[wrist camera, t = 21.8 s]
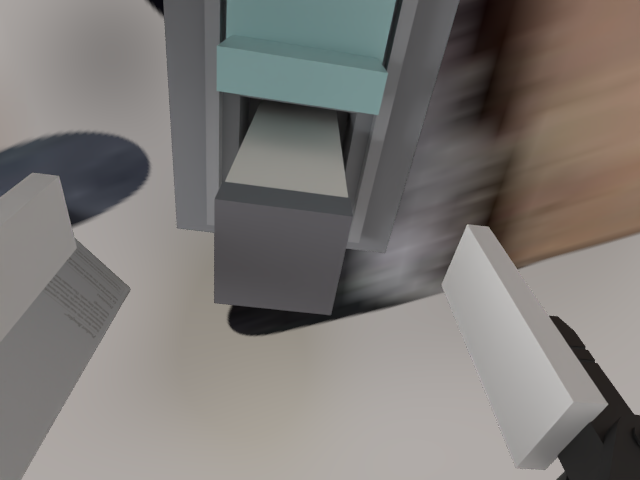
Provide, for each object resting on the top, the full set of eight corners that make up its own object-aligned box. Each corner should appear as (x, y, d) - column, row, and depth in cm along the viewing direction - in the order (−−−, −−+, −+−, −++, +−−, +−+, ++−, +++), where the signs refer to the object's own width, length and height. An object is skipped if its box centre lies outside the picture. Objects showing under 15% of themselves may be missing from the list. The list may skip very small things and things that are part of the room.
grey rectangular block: (257, 164, 24) (214, 303, 14) (262, 94, 22) (214, 199, 12) (325, 173, 24) (330, 315, 14) (336, 106, 22) (353, 216, 12)
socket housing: (195, 195, 26) (172, 235, 22) (181, -284, 15) (130, -380, 11) (376, 218, 27) (387, 261, 23) (490, -213, 16) (549, -278, 12)
